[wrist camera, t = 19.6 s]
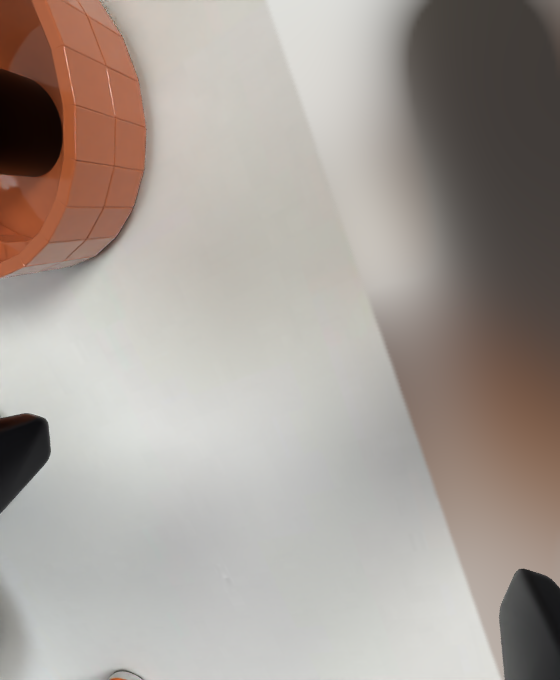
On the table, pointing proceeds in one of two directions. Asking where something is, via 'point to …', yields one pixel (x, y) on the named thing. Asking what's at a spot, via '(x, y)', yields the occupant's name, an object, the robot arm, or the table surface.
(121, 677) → the pill bottle
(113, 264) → the table surface
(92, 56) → the terracotta bowl
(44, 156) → the dumbbell
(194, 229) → the table surface
